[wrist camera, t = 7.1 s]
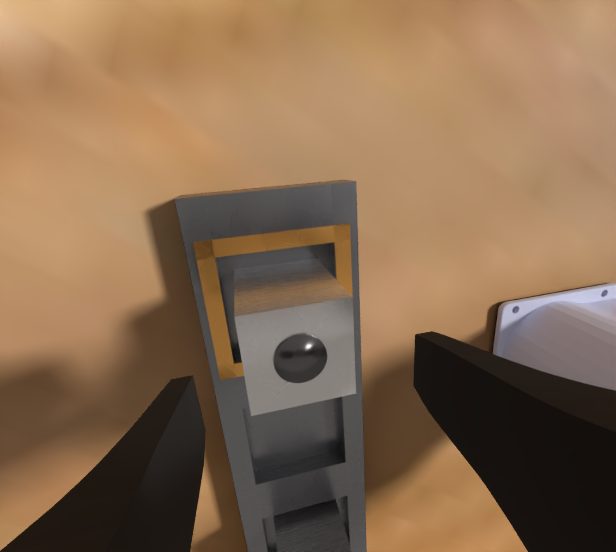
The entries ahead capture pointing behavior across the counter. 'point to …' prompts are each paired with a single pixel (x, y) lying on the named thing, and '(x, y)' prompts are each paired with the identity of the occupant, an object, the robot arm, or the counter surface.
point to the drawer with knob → (293, 335)
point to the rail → (228, 364)
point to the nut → (311, 529)
